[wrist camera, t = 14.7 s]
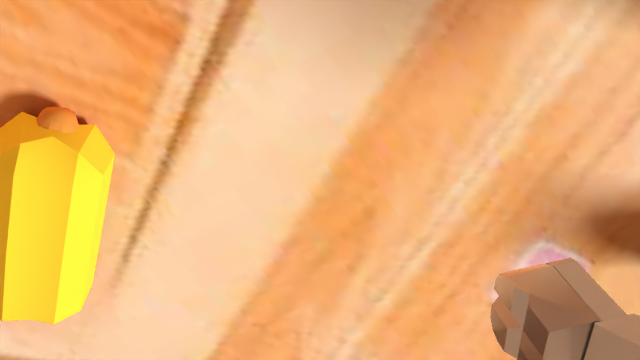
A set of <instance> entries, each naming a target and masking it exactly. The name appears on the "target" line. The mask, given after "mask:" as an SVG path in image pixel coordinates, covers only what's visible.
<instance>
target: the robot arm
mask: <svg viewBox="0 0 640 360" xmlns="http://www.w3.org/2000/svg"><path fill="white" fill-rule="evenodd" d="M494 289H495V291H496V292H497V294H498V295H499V297H498V298H497V299H496V301H495V302H494V303H493V304H492V308H491V322H492V327H493V331H494V334H495V336H496V339H497V341H498V343H499V344H500V346H501V347H502V349H503V351H504V352H506V353H508V354H510V355H512V356H513V357H515V358H517V360H640V316H638V315H636V314H630V315H627V314H626V313H625V312H624V311H623V310H622V309H621V308H620V307H619V306H618V305H617V304H616V303H615V302H614V301H613V299H612V298H611V297H610V296H609V295H608V294H607V293H606V292H605V291H604V290H603V289H602V288H601V287H600V286H599V285H598V284H597V282H596V281H595V280H594V279H593V278H592V277H591V276H590V275H589V274H588V273H587V272H586V271H585V270H584V269H583V268H582V267H581V265H580V264H579V263H578V262H577V261H575V260H573V259H571V258H568V259H563V260H559V261H554V262H550V263H546V264H540V265H536V266H532V267H527V268H523V269H519V270H514V271H510V272H506V273H501V274H499V275H498V277H497V278H496V281H495V287H494Z"/></svg>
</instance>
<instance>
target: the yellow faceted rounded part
mask: <svg viewBox="0 0 640 360" xmlns="http://www.w3.org/2000/svg"><path fill="white" fill-rule="evenodd" d="M114 156H115V153H114V152H113V150H112V149H111V147H110V146H109V144H108V143H107V141H106V140H105V138H104V137H103V135H102V134H101V132H100V131H99V129H98V128H97V126H96V125H95V124H94V125H79V124H78V121H77V117H76V115H75V113H74V112H73V111H71V110H69V109H67V108H62V107H56V106H55V107H46V108H45V109H43V110H42V111H41V112H40V114H39V115H38V117H34V116H32V115H29V114H27V113H24V112H21V113H19V114H18V115H17V116H15V117H14V118H13V119H11V120H10V121H9V122H7V123H6V124H5V125H3V126H2V127H1V128H0V320H1V321H14V320H28V319H30V320H35V321H40V322H45V323H50V324H55V323H57V322H59V321H61V320H63V319H65V318H67V317H69V316H71V315H73V314H75V313H77V312H79V311H81V309H82V307H83V304H84V302H85V300H86V297H87V295H88V293H89V291H90V288H91V286H92V284H93V279H94V273H95V267H96V261H97V255H98V250H99V244H100V238H101V232H102V227H103V221H104V215H105V209H106V203H107V197H108V191H109V185H110V179H111V174H112V168H113V162H114Z"/></svg>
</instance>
